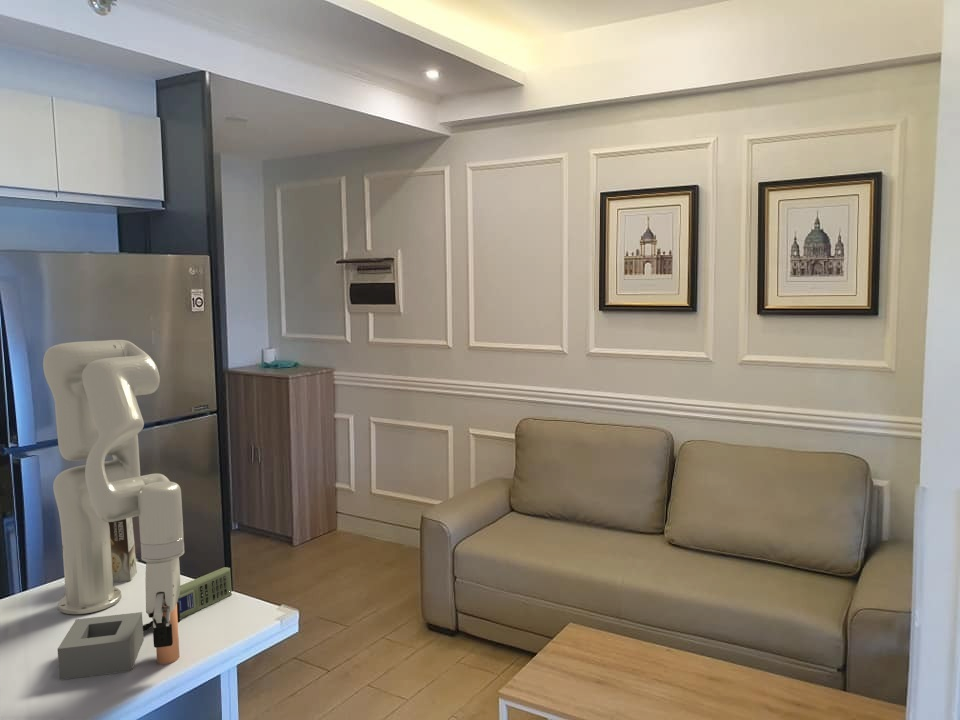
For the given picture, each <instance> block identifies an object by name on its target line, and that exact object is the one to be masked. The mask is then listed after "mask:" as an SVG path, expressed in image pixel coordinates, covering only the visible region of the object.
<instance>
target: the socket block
mask: <svg viewBox="0 0 960 720" xmlns="http://www.w3.org/2000/svg"><path fill="white" fill-rule="evenodd" d="M143 622H144V621H143V612H142V611H140V612H129V613H122V614H112V615H105V616H104V615H103V616H93V617H85V618H78V619H77V618H76V619H75V620H74V621H73V623H72V626H70V628H69V630H68V631H67V633H66V634H65V636H64V638H63V639H62V641H61V642H60V644H59V645H58V647H57V661H58V663H57V664H58V675H59V681H62V680H70V679H72V680H73V679H79V678H86V677H94V676H100V675H101V676H103V675H109V674H118V673H126V672H132V671H133V667H134V665H135V662H136V660H137V658H138V655H139V653H140V650H141V647H142V645H143V643H144V632H143V625H144V624H143Z"/></svg>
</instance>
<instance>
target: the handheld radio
mask: <svg viewBox="0 0 960 720" xmlns="http://www.w3.org/2000/svg"><path fill="white" fill-rule="evenodd" d="M231 577H232V575H231V567H227V566H226V567H222V568H219V569H217V570H214V571H212V572H209V573H207V574H205V575H202V576H200V577H197V578H195V579H192V580H190V581H187V582H185V583H183V584H180V595H179V601H178V602H179V603H180V620H181V619H183V618H185V617H188V616H190V615H191V614H194V613H196V612H198V611H201V610H202V608H203V609H204V607H205V608H207V607H209V606H211V605H214V604H215V603H218V602H220V601H222V600H224V599H226V598H229V597H231V596H233V593H231V592H233V589H232V578H231ZM229 591H230V592H229ZM200 609H201V610H200ZM147 615H148V618H150V619H151V618H152V620H150V621H149V622H147V623H145V624H143V633H144V632H146V631H148V630H150V629H151V628H153V617H154V610H153V612H152V613H151V614H147Z"/></svg>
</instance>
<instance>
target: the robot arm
mask: <svg viewBox="0 0 960 720" xmlns="http://www.w3.org/2000/svg"><path fill="white" fill-rule="evenodd" d="M42 361H43V363H42V367H43V373H44V377H45V380H46V383H47V385H48V386H49V389H50V391H51V393H52V394H51V395H52V397H53V400H54V406H55V409H54V411H55V420H56V421H55V422H56V423H55V424H56V432H57V433H56V434H57V444H58V451H59V453H60V455H61V457H62V458H63V459H65V460H66V461H71V462H76V461H78V462H79V461H85V460H86V462H85V464H83V465H79V466H78V465H77V466H74V467H70V468H68V469H65V470H62V471H61V472H60V473H58V474H57V476H56V477H55V478H54V480H53V483H52V484H53V490H52V491H53V494H54V498H55V502H56V506H57V509H58V515H59V522H60V532H61V544H62V560H63V573H64V588H65V591H64V592H65V595H64V597H62V598H61V599H60V600H59V601H58V604H57V605H58V606H57V607H58V610H59V611H60V612H61V613H64V614H67V615H86V614H90V613H97V612H99V611H103V610H105V609H108V608H110V607H112V606H114V605H115V604H117V603H118V602H119V601H120V600H121V599H122V590H121V589H119V588H117V587H115V586H114V582H113V573H112V557H111V540H110V527H109V523H108V522H114V521H119V520H123V519H128V518H132V517H133V518H135V517H136V518H137V517H138V523H139V525H138V526H139V540H140V541H139V542H140V554H141V556H140V557H141V560H142V561H143V562H146V564H145V612H146V614H147V615H148V614H151V613H152V612H153V610H154V617H153V619H152V621H153V627H152V639H153V647H154V648H155V649H156V648H158V647H166V646H171V645H172V644H173V637H172V624H170V613H171V611H173V610H174V609H175V606H176V604H177V617H178V623H180V621H181V619H180V603H179V602H178V601H179V595H180V585H181V570H180V569H181V568H180V557H181V556H183V555H184V554H185V541H184V524H183V523H184V519H183V518H184V517H183V502H182V488H181V486H180V485H179V483H177V482H174V481H170V479H169V478H168V477H167V476H165V474H162V473H150V474H144V475H141V466H140V465H141V464H140V448H139V437H138V435H139V433H140V432H141V431H142V430H143V428H144V427H145V426H144V425H145V421H144V418H143V415H142V412H141V409H140V407H139V404H138V400H137V396H142V395H143V396H144V395H151V394H154V393H155V392H156V391H157V390H158V389H159V387H160V383H161V382H160V380H161V376H160V373H159V369H158V366H157V364H156V363H155V361H154V360H153V358H152V357H151V356H150V355H149V354H148V353H147V352H145V351H144V350H143V349H141V348H140V347H138V346H137V345H135V344H134V343H133V342H131V341H129V340H126V339H108V340H107V339H106V340H91V341H90V340H89V341H88V340H86V341H84V340H83V341H74V342H73V341H71V342H63V343H59V344H55V345H53V346H51V347H48V349H47V350H46V351H45V353H44V355H43V360H42ZM111 456H112V460H108V461H105V460H106V457H111ZM164 598H165V599H164ZM163 607H168V608H166V609H163ZM165 613H166V617H165V616H163V614H165Z"/></svg>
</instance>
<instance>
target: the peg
mask: <svg viewBox="0 0 960 720" xmlns="http://www.w3.org/2000/svg"><path fill="white" fill-rule="evenodd" d="M164 599H165V598H164ZM166 608H168V607H163V609H166ZM163 616H165V617H166V613H165V614H163ZM170 624H172V637H173V644H172V645H171V646H166V647H158V648H155V649H156V650H155V651H156V662H157V663H158V664H159V665H160V664H161V665H167V664H168V665H169V664H172V663H174V662H176V661H178V660H179V658H180V644H179V643H180V641H179V639H180V638H179V622H178V617H177V604H176V606H175V609H174V610H173V611H171V613H170Z"/></svg>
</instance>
